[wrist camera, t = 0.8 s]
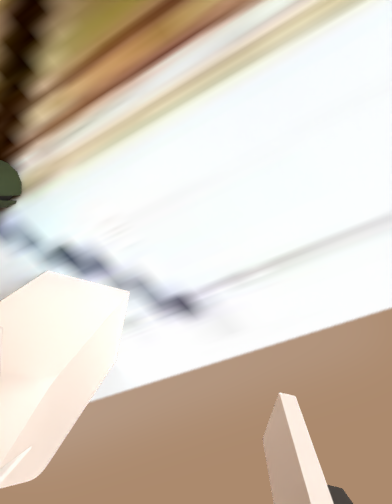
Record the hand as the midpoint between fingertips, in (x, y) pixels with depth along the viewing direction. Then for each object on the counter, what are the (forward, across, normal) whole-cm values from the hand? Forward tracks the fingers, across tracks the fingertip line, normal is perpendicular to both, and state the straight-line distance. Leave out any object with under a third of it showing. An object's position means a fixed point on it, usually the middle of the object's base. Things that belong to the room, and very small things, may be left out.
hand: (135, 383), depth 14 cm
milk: (+27, -13, -14) cm, 33 cm away
